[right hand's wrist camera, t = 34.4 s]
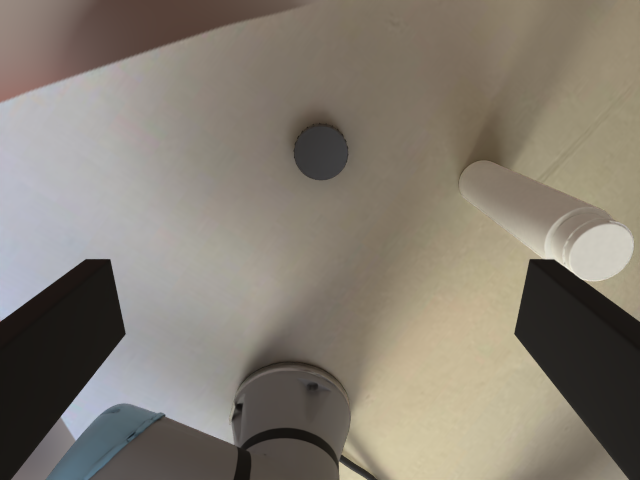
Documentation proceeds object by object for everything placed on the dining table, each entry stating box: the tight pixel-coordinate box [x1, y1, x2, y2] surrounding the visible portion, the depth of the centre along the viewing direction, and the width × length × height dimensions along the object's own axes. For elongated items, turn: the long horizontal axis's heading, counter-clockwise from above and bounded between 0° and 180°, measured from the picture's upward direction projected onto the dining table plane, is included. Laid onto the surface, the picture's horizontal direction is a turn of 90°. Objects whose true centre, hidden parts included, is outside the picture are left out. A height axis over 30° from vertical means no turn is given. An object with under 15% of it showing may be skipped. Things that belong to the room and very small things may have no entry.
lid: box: [294, 123, 348, 180], centre depth 39 cm, size 5×5×2 cm
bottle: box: [459, 160, 634, 281], centre depth 33 cm, size 5×5×19 cm
